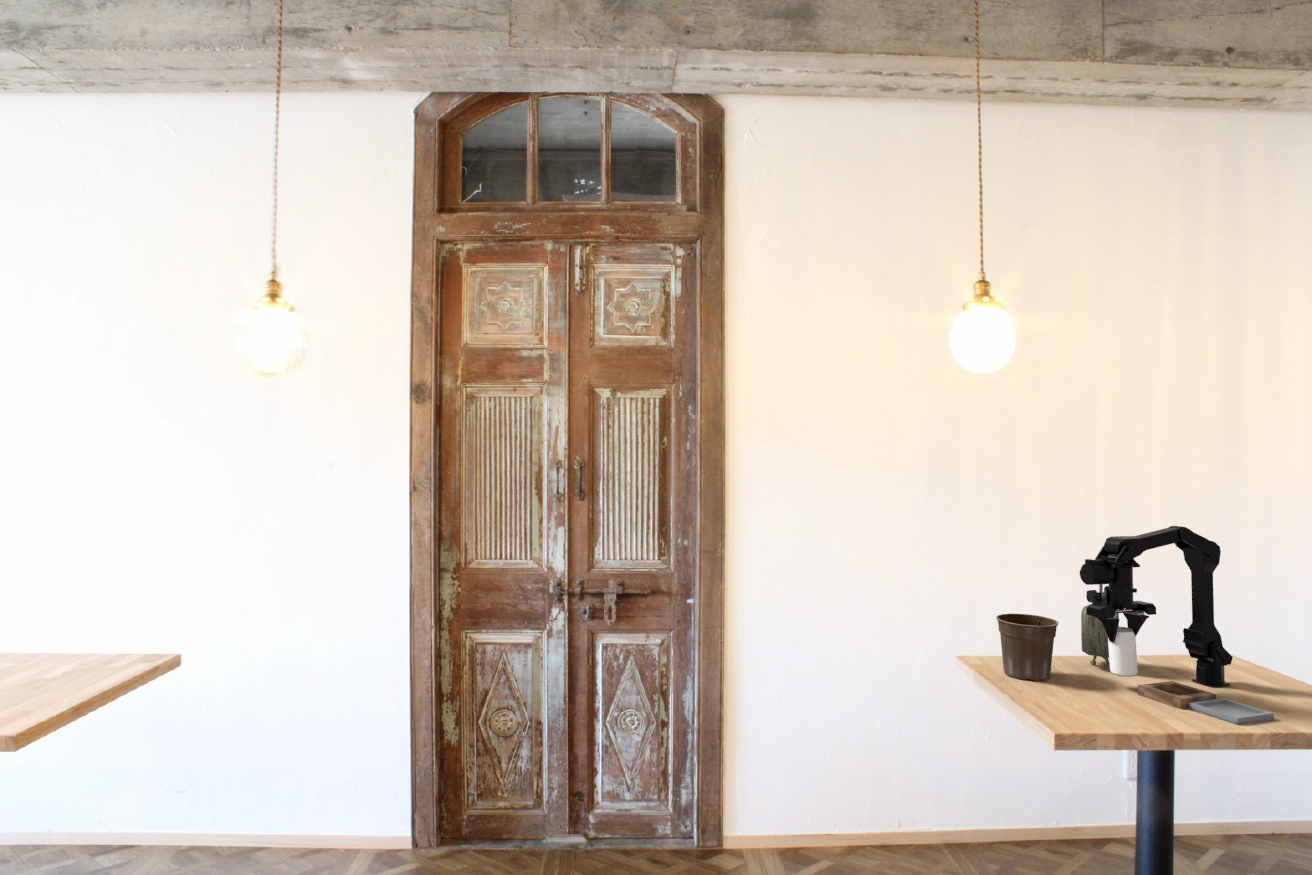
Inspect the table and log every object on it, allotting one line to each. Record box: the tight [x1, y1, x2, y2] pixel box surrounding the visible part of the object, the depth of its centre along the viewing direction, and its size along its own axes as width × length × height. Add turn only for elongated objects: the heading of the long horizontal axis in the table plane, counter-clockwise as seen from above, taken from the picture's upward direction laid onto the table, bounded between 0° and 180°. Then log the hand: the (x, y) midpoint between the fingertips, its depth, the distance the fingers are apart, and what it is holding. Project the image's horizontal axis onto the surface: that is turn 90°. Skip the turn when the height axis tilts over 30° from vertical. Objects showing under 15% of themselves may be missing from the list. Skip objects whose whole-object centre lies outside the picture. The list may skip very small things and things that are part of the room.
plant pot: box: [995, 613, 1059, 682], centre depth 222 cm, size 16×16×16 cm
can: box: [1108, 626, 1139, 678], centre depth 210 cm, size 6×6×12 cm
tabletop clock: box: [1080, 584, 1120, 672], centre depth 232 cm, size 14×9×25 cm, turn 147°
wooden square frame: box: [1137, 680, 1217, 710], centre depth 200 cm, size 12×12×2 cm
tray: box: [1188, 697, 1275, 726], centre depth 189 cm, size 12×12×2 cm
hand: (1121, 641), depth 210 cm, fingers closed on can, 6 cm apart
